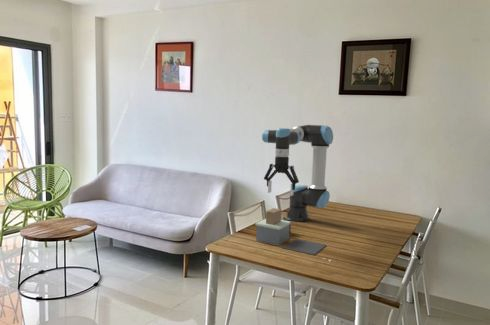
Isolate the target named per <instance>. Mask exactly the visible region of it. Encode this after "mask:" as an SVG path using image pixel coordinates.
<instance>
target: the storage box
mask: <svg viewBox="0 0 490 325" xmlns="http://www.w3.org/2000/svg"><path fill="white" fill-rule="evenodd" d="M289 228H290V224H289V225H287V226H286V227H284V228H282V229H280V230H277V229H272V228H267V227H262V226H257V225H256V235H255V236H256V237H255V238H256V239H255V240H256V241H257V242H259V243H260V242H261V243H265V244H270V245H275V246H280V245H281V244H283V243H284V242H286V241H288V240H289V239H290V234H289Z"/></svg>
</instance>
